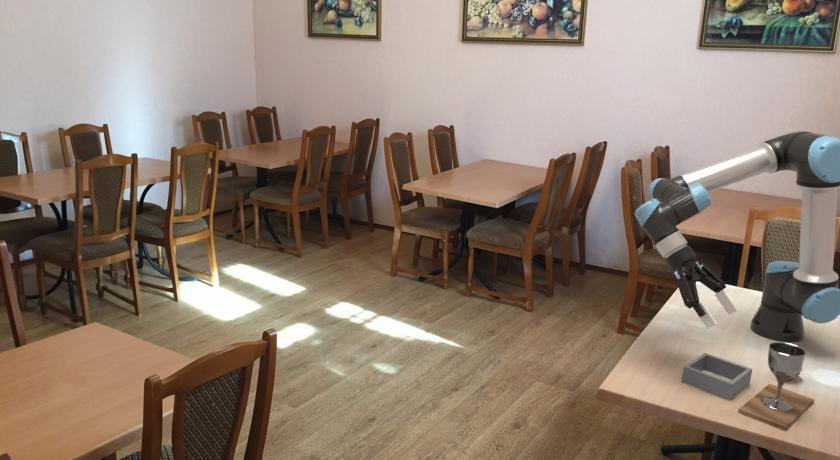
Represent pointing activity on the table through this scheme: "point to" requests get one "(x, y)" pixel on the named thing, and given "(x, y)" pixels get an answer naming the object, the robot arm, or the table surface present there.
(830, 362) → the table surface
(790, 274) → the robot arm
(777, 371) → the wine glass
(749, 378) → the square frame
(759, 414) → the board
